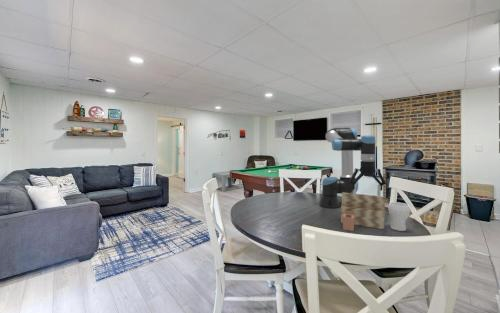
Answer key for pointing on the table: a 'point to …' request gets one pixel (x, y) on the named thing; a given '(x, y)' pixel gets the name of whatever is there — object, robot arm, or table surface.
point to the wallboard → (364, 209)
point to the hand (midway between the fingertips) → (366, 195)
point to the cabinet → (348, 220)
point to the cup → (398, 215)
